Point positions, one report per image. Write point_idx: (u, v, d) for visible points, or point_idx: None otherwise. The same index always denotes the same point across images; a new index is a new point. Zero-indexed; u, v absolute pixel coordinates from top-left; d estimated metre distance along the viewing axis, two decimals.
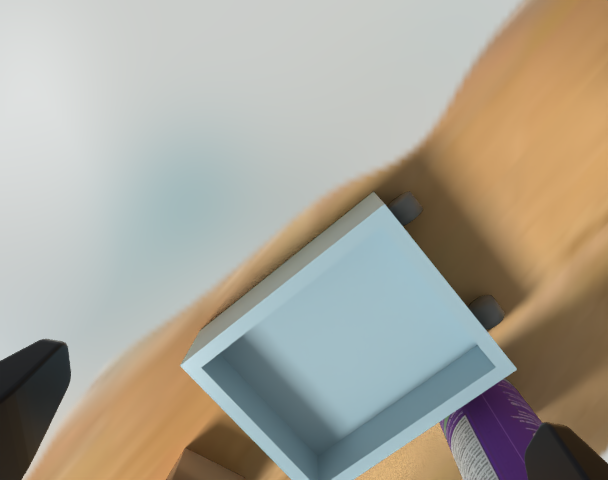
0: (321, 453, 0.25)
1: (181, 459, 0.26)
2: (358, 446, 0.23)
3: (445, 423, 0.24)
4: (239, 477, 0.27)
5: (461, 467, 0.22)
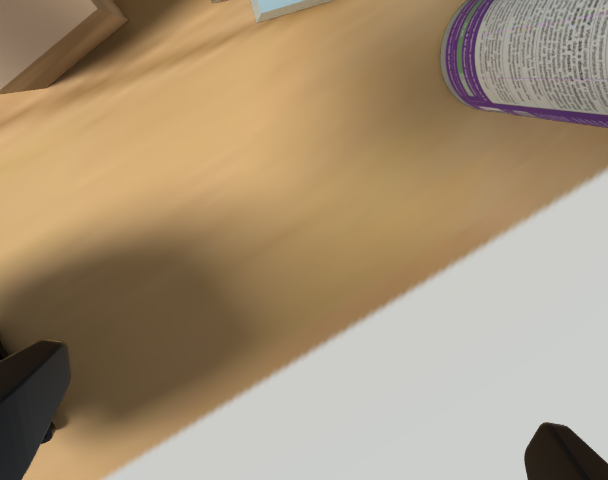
0: None
1: None
2: None
3: (470, 15, 0.17)
4: (121, 12, 0.16)
5: (511, 13, 0.14)
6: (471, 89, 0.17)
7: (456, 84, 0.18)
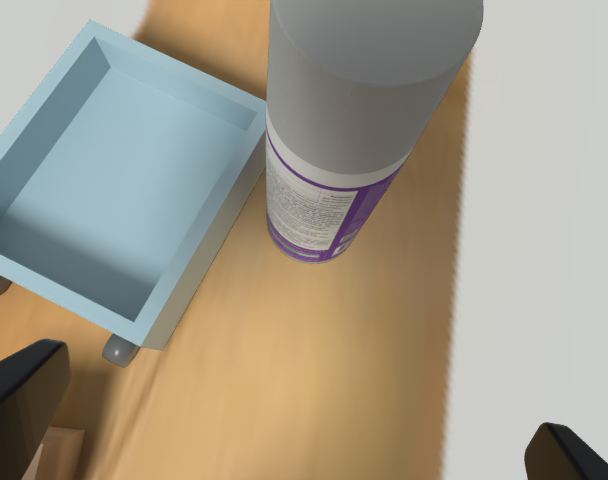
0: None
1: None
2: None
3: (269, 224, 0.22)
4: (77, 429, 0.20)
5: (272, 209, 0.19)
6: (313, 254, 0.21)
7: (306, 259, 0.22)
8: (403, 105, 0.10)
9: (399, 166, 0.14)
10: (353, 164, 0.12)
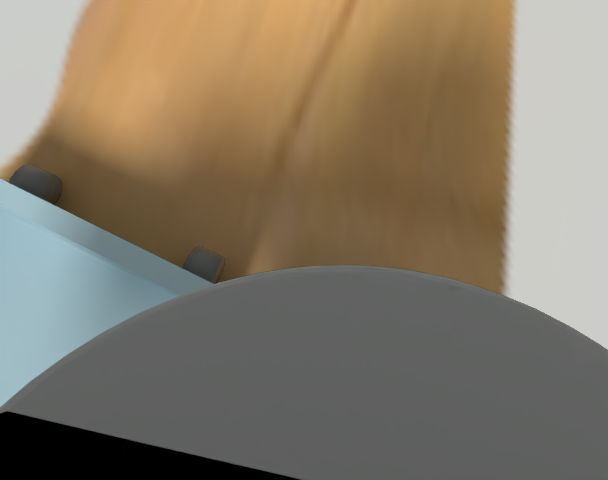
0: None
1: None
2: None
3: None
4: None
5: None
6: None
7: None
8: None
9: None
10: None
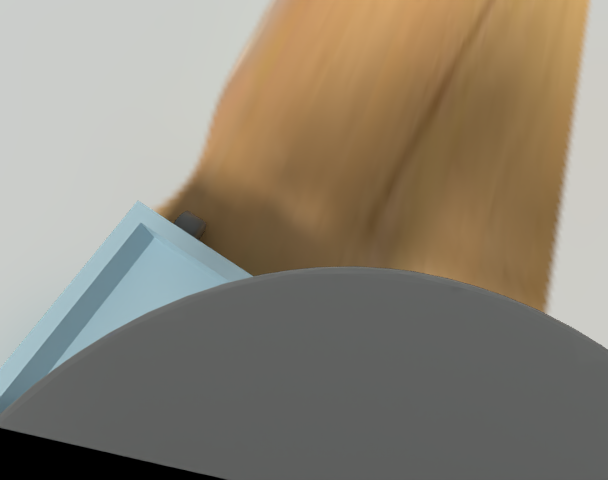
0: None
1: None
2: None
3: None
4: None
5: None
6: None
7: None
8: None
9: None
10: None
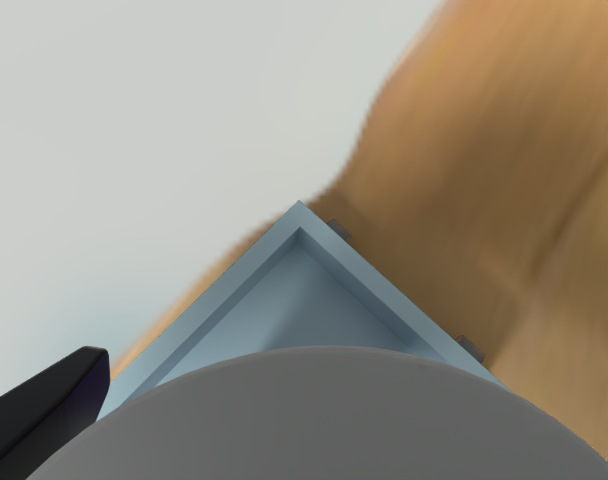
0: None
1: None
2: None
3: None
4: None
5: None
6: None
7: None
8: None
9: None
10: None
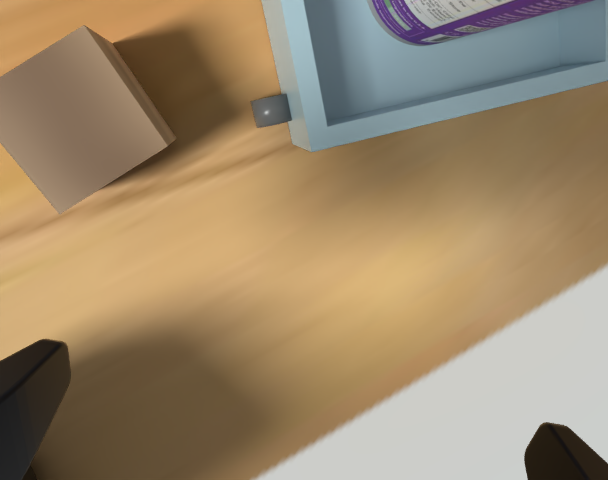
0: None
1: (107, 41, 0.16)
2: (392, 109, 0.17)
3: None
4: (171, 131, 0.18)
5: None
6: (405, 22, 0.15)
7: (390, 22, 0.16)
8: None
9: None
10: None
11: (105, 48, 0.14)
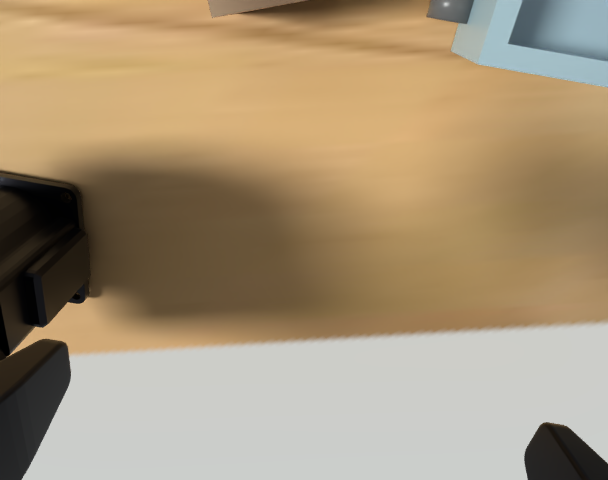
0: None
1: None
2: (579, 55, 0.15)
3: None
4: None
5: None
6: None
7: None
8: None
9: None
10: None
11: None
